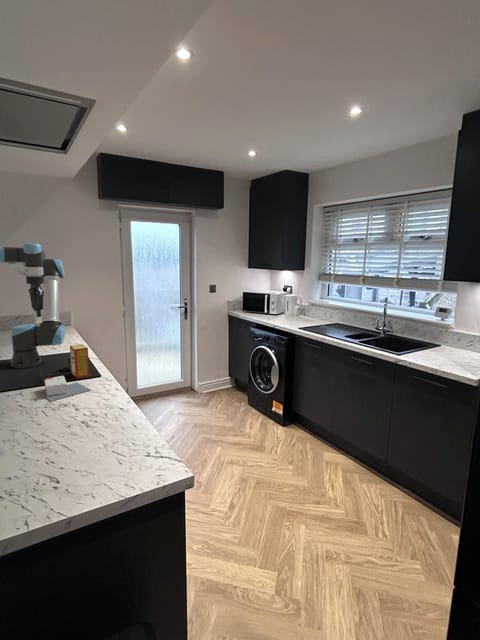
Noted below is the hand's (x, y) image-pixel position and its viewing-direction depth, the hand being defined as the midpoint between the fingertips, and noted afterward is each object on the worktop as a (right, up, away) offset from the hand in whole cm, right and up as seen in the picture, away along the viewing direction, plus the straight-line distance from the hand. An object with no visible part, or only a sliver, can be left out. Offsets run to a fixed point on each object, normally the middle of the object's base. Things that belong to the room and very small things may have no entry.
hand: (38, 323), depth 176 cm
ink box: (+11, -28, -6) cm, 31 cm away
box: (+9, -26, +22) cm, 35 cm away
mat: (+18, -32, -11) cm, 39 cm away
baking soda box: (+15, -28, +13) cm, 34 cm away
